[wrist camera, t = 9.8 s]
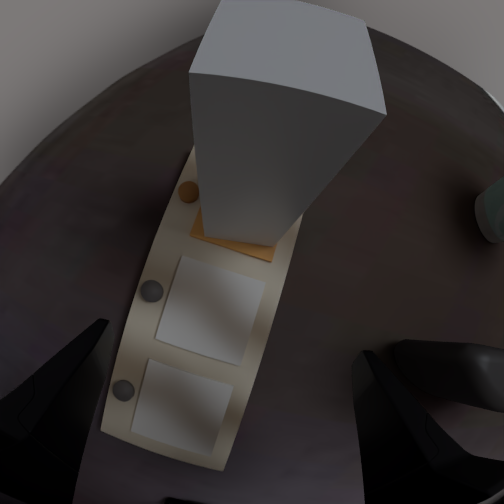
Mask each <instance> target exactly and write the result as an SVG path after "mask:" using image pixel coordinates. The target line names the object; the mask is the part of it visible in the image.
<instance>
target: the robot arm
mask: <svg viewBox="0 0 504 504" xmlns="http://www.w3.org/2000/svg"><path fill="white" fill-rule="evenodd" d="M113 343H114V333H113V329H112V324H111V322H110V321H109V320H106V319H101V318H100V319H98V320H97V321H95V322H94V323H93V324H92V325H90V326H89V327H88V328H87V329H86V330H84V331H83V332H82V333H81V334H80V335H78V336H77V337H76V338H75V339H74V340H72V341H71V342H70V343H69V344H68V345H66V346H65V347H64V348H63V349H62V350H60V351H59V352H58V353H57V354H56V355H55V356H53V357H52V358H51V359H50V360H49V361H47V362H46V363H45V364H44V365H43V366H42V367H41V368H39V369H38V370H37V371H36V372H35V373H34V374H33V375H31V376H30V377H29V378H28V379H27V380H26V381H24V382H23V383H22V384H21V385H20V386H18V387H17V388H16V389H15V390H13V391H12V392H11V393H9V394H8V395H7V396H5V397H4V398H2V399H1V400H0V504H72V501H73V496H74V491H75V486H76V482H77V477H78V472H79V468H80V464H81V460H82V456H83V452H84V448H85V444H86V440H87V437H88V433H89V430H90V426H91V423H92V419H93V416H94V413H95V409H96V406H97V403H98V400H99V397H100V394H101V391H102V388H103V385H104V381H105V378H106V374H107V369H108V365H109V360H110V356H111V352H112V347H113ZM352 382H353V401H354V410H355V417H356V424H357V431H358V439H359V447H360V455H361V464H362V474H363V484H364V494H365V495H364V498H365V504H504V461H500V460H494V459H488V458H483V457H478V456H474V455H472V454H470V453H468V452H466V451H465V450H464V449H463V448H462V447H461V446H460V445H459V444H458V443H456V442H455V441H454V440H453V439H452V438H451V437H450V436H449V435H448V434H447V433H446V432H445V431H444V430H443V429H442V428H441V427H440V426H439V425H438V424H437V423H436V422H435V421H434V419H433V418H432V417H431V416H430V415H429V414H428V413H427V412H426V410H425V409H424V408H423V407H422V406H421V405H420V404H419V402H418V401H417V400H416V399H415V398H414V397H413V396H412V395H411V393H410V392H409V391H408V390H407V389H406V388H405V387H404V386H403V384H402V383H401V382H400V381H399V380H398V379H397V378H396V377H395V375H394V374H393V373H392V372H391V371H390V370H389V369H388V368H387V367H386V365H385V364H384V363H383V362H382V361H381V360H380V359H379V358H378V357H377V356H376V354H375V353H374V352H373V351H370V350H363V351H361V352H360V353H359V355H358V356H357V358H356V359H355V361H354V362H353V365H352ZM169 503H173V504H192V503H188V502H184V501H180V500H176V499H173V498H168V499H166V500H165V503H164V504H169Z"/></svg>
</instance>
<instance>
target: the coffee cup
mask: <svg viewBox="0 0 504 504" xmlns="http://www.w3.org/2000/svg"><path fill="white" fill-rule="evenodd" d="M475 216H476V220H477V223H478V226H479V228H480V231H481V232H482V234H483V236H484V237H485V238H486V239H487V240H488V241H489V242H491V243H498V242H504V176H503V177H502V178H501V179H499V180H498V181H497V182H496V183H494V184H493V185H492V186H490V187H489V188H488V189H486V190H485V191H484V192H482V193H481V194H480V195H478V196H477V198H476V200H475Z"/></svg>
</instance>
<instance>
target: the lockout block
mask: <svg viewBox="0 0 504 504" xmlns="http://www.w3.org/2000/svg"><path fill="white" fill-rule="evenodd" d="M189 84H190V98H191V112H192V124H193V136H194V147H195V157H196V167H197V177H198V186H199V195H200V204H201V212H202V220H203V228H204V236H205V237H210V238H216V239H223V240H230V241H237V242H243V243H250V244H257V245H263V246H270V247H274V246H275V244H276V243H277V242H278V241H279V240H280V239H281V238H282V236H283V235H284V234H285V233H286V232H287V231H288V230H289V228H290V227H291V226H292V225H293V224H294V223H295V222H296V220H297V219H298V218H299V217H300V216H301V215H302V213H303V212H304V211H305V210H306V209H307V208H308V207H309V205H310V204H311V203H312V202H313V201H314V200H315V198H316V197H317V196H318V195H319V194H320V193H321V192H322V190H323V189H324V188H325V187H326V186H327V185H328V183H329V182H330V181H331V180H332V179H333V178H334V176H335V175H336V174H337V173H338V172H339V171H340V169H341V168H342V167H343V166H344V165H345V164H346V162H347V161H348V160H349V159H350V158H351V157H352V155H353V154H354V153H355V152H356V151H357V150H358V148H359V147H360V146H361V145H362V144H363V142H364V141H365V140H366V139H367V138H368V137H369V135H370V134H371V133H372V132H373V131H374V129H375V128H376V127H377V126H378V125H379V124H380V122H381V121H382V120H383V119H384V118H385V116H386V115H387V114H386V108H385V102H384V97H383V92H382V87H381V82H380V78H379V73H378V69H377V64H376V60H375V56H374V52H373V49H372V45H371V41H370V38H369V34H368V31H367V27H366V25H365V21H364V20H361V19H358V18H356V17H353V16H350V15H347V14H344V13H340V12H337V11H334V10H331V9H327V8H324V7H320V6H317V5H313V4H309V3H305V2H300V1H296V0H221V2H220V4H219V6H218V8H217V10H216V12H215V14H214V16H213V18H212V20H211V22H210V24H209V27H208V29H207V31H206V33H205V35H204V38H203V40H202V42H201V44H200V47H199V49H198V51H197V54H196V56H195V58H194V61H193V63H192V66H191V68H190V71H189Z"/></svg>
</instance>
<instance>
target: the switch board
mask: <svg viewBox="0 0 504 504" xmlns="http://www.w3.org/2000/svg"><path fill="white" fill-rule="evenodd" d="M302 215H303V213H302ZM302 215H301V216H300V217H299V218H298V219H297V220H296V222H295V223H294V224H293V225H292V226H291V227H290V228H289V230H288V231H287V232H286V233H285V234H284V235H283V236H282V238H281V239H280V240H279V241H278V242H277V243H276V244H275V246H274V247H270V246H263V245H257V244H250V243H243V242H237V241H230V240H223V239H216V238H210V237H205V236H204V228H203V220H202V212H201V204H200V195H199V186H198V177H197V167H196V157H195V147H193V149H192V151H191V154H190V156H189V158H188V160H187V162H186V164H185V167H184V169H183V171H182V173H181V176H180V178H179V180H178V182H177V185H176V187H175V189H174V192H173V194H172V196H171V199H170V201H169V204H168V206H167V209H166V211H165V213H164V216H163V218H162V221H161V224H160V226H159V229H158V231H157V234H156V236H155V239H154V242H153V244H152V247H151V250H150V253H149V255H148V258H147V261H146V264H145V267H144V269H143V272H142V275H141V278H140V281H139V284H138V287H137V290H136V293H135V296H134V299H133V303H132V306H131V309H130V312H129V316H128V319H127V322H126V326H125V329H124V333H123V336H122V340H121V343H120V347H119V351H118V354H117V358H116V362H115V366H114V370H113V374H112V378H111V382H110V387H109V391H108V396H107V400H106V405H105V410H104V414H103V420H102V425H101V431H103V432H105V433H107V434H109V435H112V436H114V437H116V438H119V439H121V440H123V441H126V442H128V443H131V444H133V445H136V446H139V447H141V448H144V449H147V450H149V451H152V452H155V453H158V454H161V455H164V456H167V457H170V458H173V459H177V460H180V461H184V462H187V463H191V464H194V465H198V466H202V467H206V468H210V469H214V470H219V471H223V470H224V468H225V465H226V462H227V459H228V457H229V454H230V451H231V448H232V445H233V443H234V440H235V437H236V434H237V431H238V428H239V425H240V422H241V419H242V417H243V414H244V411H245V408H246V405H247V402H248V399H249V396H250V393H251V389H252V386H253V383H254V380H255V377H256V374H257V371H258V368H259V365H260V361H261V358H262V355H263V352H264V349H265V345H266V342H267V339H268V336H269V332H270V329H271V326H272V322H273V319H274V316H275V312H276V309H277V305H278V302H279V299H280V295H281V292H282V288H283V285H284V281H285V278H286V274H287V271H288V267H289V263H290V260H291V256H292V252H293V249H294V245H295V241H296V238H297V234H298V230H299V226H300V223H301V219H302Z"/></svg>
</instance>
